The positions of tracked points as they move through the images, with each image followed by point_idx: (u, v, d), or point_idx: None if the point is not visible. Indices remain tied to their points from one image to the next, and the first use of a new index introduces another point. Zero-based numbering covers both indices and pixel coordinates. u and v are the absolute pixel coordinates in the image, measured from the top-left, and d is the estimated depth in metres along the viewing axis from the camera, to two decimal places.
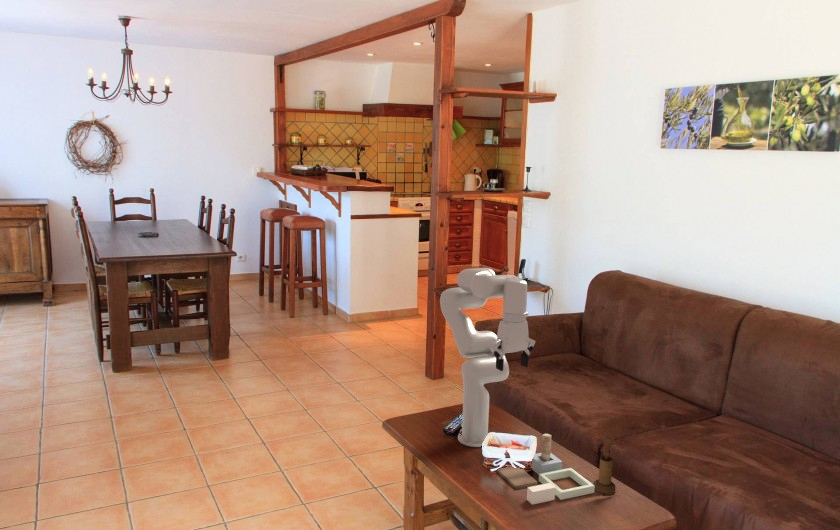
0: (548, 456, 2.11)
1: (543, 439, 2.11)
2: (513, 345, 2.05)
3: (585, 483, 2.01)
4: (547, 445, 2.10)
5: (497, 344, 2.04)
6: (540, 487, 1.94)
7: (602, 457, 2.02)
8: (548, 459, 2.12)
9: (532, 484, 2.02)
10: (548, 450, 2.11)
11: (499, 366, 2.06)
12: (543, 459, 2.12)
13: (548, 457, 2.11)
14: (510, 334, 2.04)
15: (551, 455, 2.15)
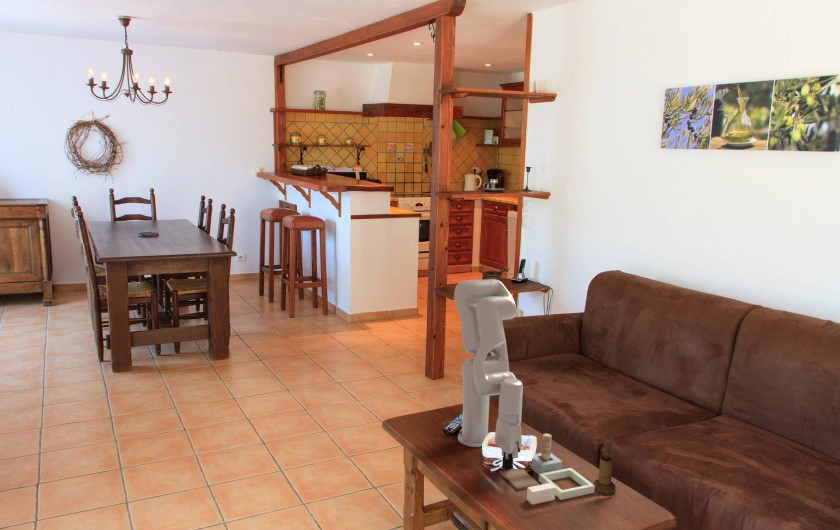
0: (548, 456, 2.11)
1: (543, 439, 2.11)
2: None
3: (585, 483, 2.01)
4: (547, 445, 2.10)
5: None
6: (540, 487, 1.94)
7: (602, 457, 2.02)
8: (548, 459, 2.12)
9: None
10: (548, 450, 2.11)
11: None
12: (543, 459, 2.12)
13: (548, 457, 2.11)
14: None
15: (551, 455, 2.15)
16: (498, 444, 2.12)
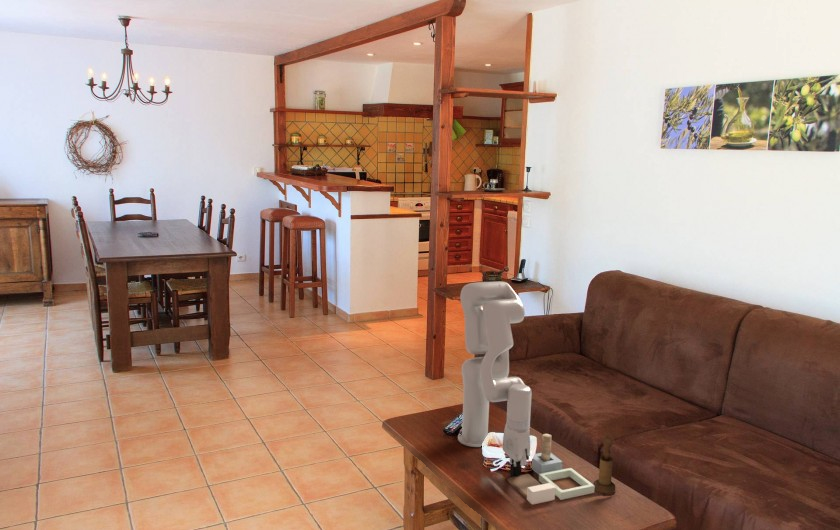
0: (548, 456, 2.11)
1: (543, 439, 2.11)
2: None
3: (585, 483, 2.01)
4: (547, 445, 2.10)
5: None
6: (540, 487, 1.94)
7: (602, 457, 2.02)
8: (548, 459, 2.12)
9: None
10: (548, 450, 2.11)
11: None
12: (543, 459, 2.12)
13: (548, 457, 2.11)
14: None
15: (551, 455, 2.15)
16: (506, 451, 2.07)
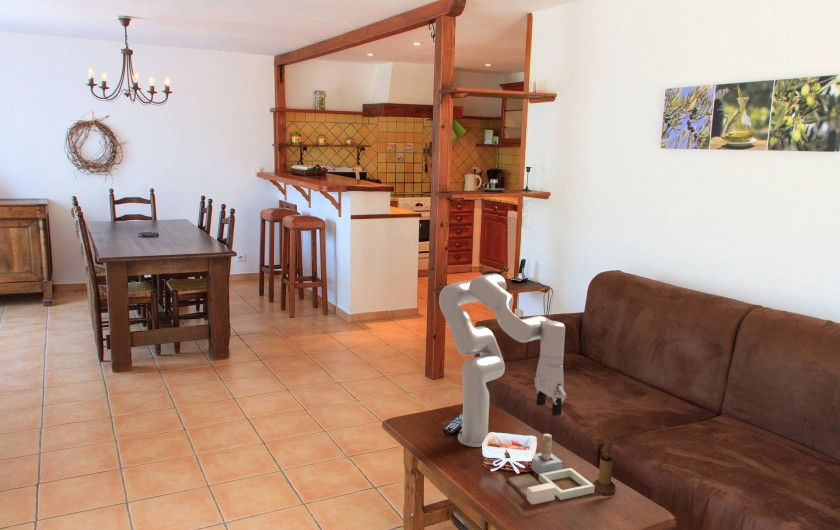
0: (548, 456, 2.11)
1: (543, 439, 2.11)
2: None
3: (585, 483, 2.01)
4: (547, 445, 2.10)
5: None
6: (540, 487, 1.94)
7: (602, 457, 2.02)
8: (548, 459, 2.12)
9: None
10: (548, 450, 2.11)
11: None
12: (543, 459, 2.12)
13: (548, 457, 2.11)
14: None
15: (551, 455, 2.15)
16: (539, 388, 2.09)
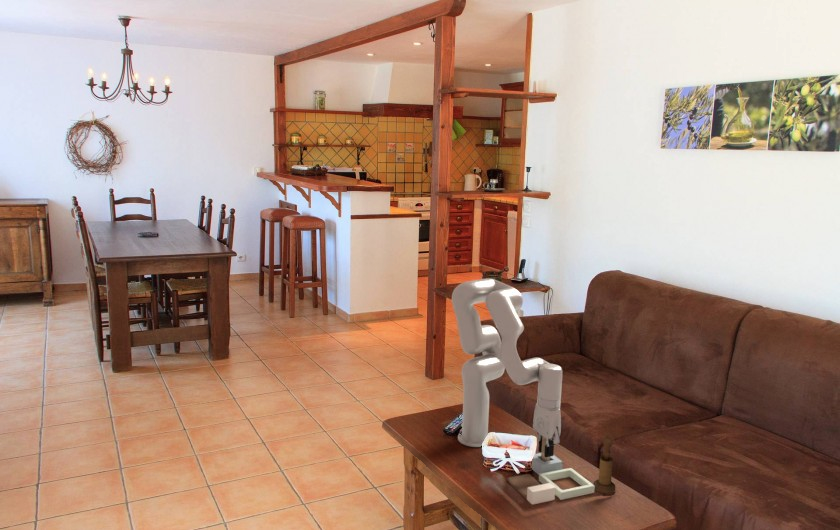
0: None
1: (543, 438, 2.11)
2: None
3: (585, 483, 2.01)
4: None
5: None
6: (540, 487, 1.94)
7: (602, 457, 2.02)
8: (548, 458, 2.12)
9: None
10: None
11: None
12: (543, 458, 2.12)
13: None
14: None
15: None
16: (536, 429, 2.12)
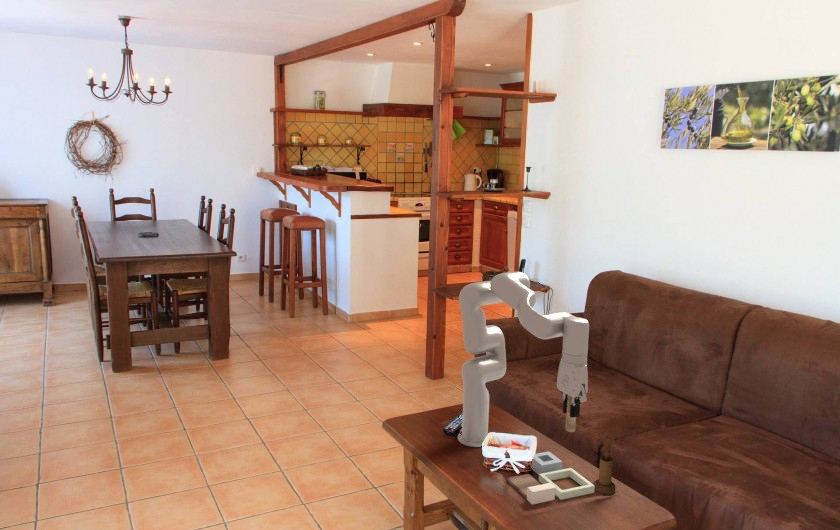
0: None
1: (569, 397, 1.97)
2: None
3: (585, 483, 2.01)
4: None
5: None
6: (540, 487, 1.94)
7: (602, 457, 2.02)
8: (574, 419, 1.97)
9: None
10: None
11: None
12: (568, 419, 1.98)
13: (574, 417, 1.97)
14: None
15: (551, 455, 2.15)
16: (561, 388, 1.98)
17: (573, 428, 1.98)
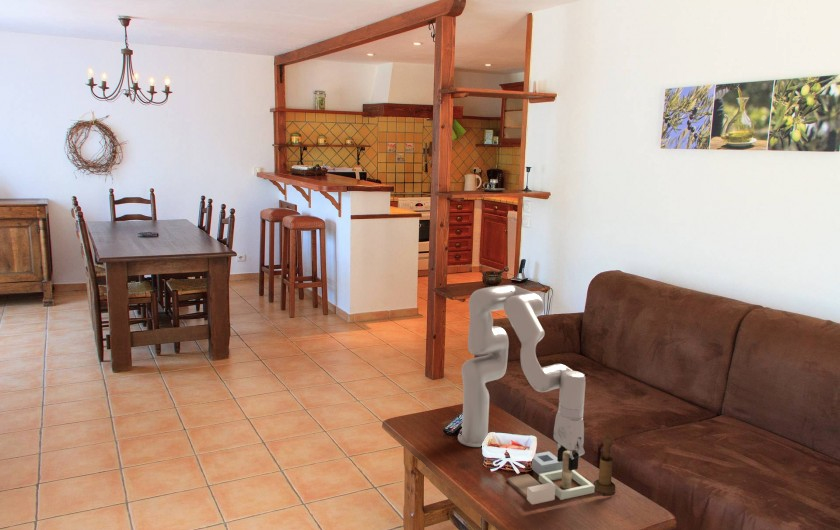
0: (569, 474, 2.00)
1: (564, 457, 1.99)
2: None
3: (585, 483, 2.01)
4: (568, 463, 1.99)
5: None
6: (540, 487, 1.94)
7: (602, 457, 2.02)
8: (569, 477, 2.00)
9: None
10: None
11: None
12: (564, 477, 2.01)
13: (569, 475, 2.00)
14: None
15: (551, 455, 2.15)
16: (558, 440, 2.01)
17: (569, 486, 2.01)
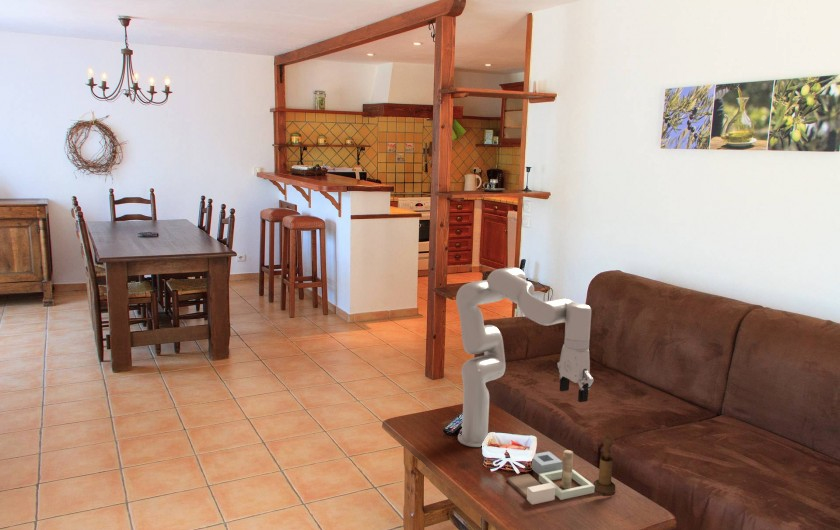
0: (570, 474, 2.00)
1: (564, 456, 2.00)
2: None
3: (585, 483, 2.01)
4: (569, 462, 2.00)
5: None
6: (540, 487, 1.94)
7: (602, 457, 2.02)
8: (569, 477, 2.01)
9: None
10: (570, 467, 2.00)
11: None
12: (564, 477, 2.01)
13: (570, 475, 2.01)
14: None
15: (551, 455, 2.15)
16: (563, 374, 2.00)
17: (569, 486, 2.01)
